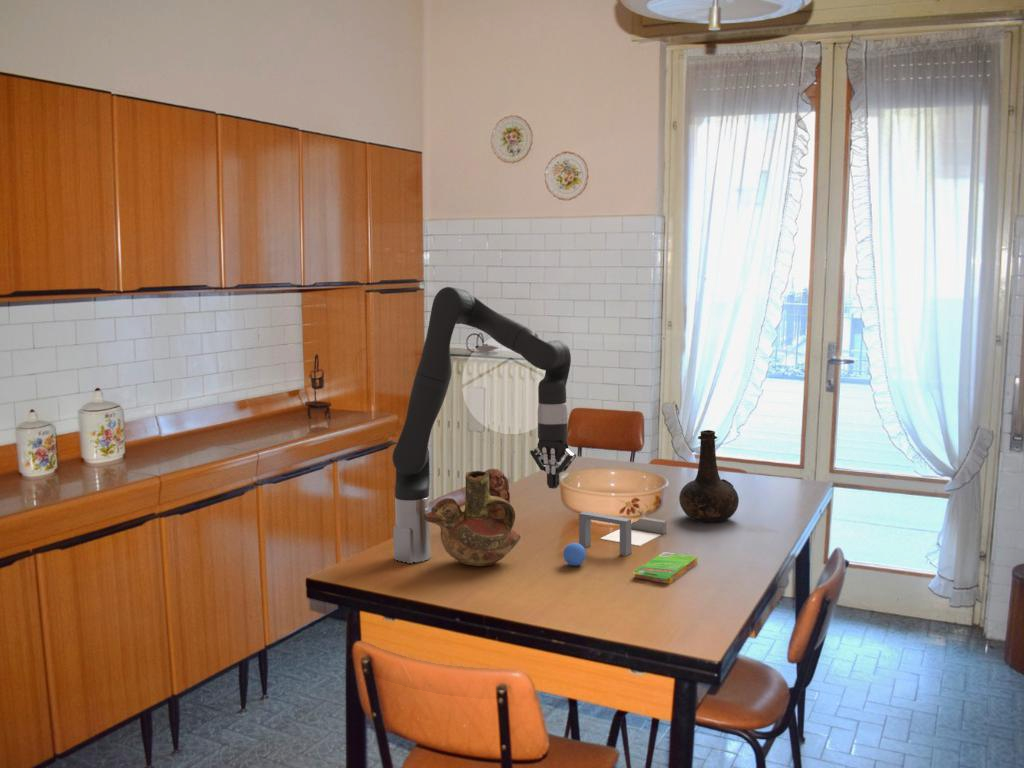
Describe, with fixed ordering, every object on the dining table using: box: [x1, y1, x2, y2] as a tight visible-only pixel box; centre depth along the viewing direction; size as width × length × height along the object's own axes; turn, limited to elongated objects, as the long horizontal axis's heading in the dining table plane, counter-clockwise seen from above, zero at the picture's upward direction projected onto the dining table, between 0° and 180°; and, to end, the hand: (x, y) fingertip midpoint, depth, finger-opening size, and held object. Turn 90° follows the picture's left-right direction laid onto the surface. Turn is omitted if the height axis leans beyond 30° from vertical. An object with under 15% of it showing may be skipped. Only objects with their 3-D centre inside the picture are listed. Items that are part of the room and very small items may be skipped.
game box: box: [632, 551, 698, 584], centre depth 240 cm, size 3×10×20 cm
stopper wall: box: [631, 516, 667, 535], centre depth 278 cm, size 2×13×4 cm, turn 54°
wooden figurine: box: [484, 468, 511, 518], centre depth 282 cm, size 12×6×18 cm, turn 143°
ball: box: [562, 542, 587, 567], centre depth 245 cm, size 6×6×6 cm
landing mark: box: [599, 528, 662, 547], centre depth 271 cm, size 13×13×1 cm
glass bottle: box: [678, 429, 739, 524], centre depth 287 cm, size 18×18×28 cm
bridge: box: [578, 510, 632, 557], centre depth 258 cm, size 3×15×10 cm, turn 54°
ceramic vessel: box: [424, 470, 521, 567], centre depth 246 cm, size 17×26×25 cm, turn 105°
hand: (553, 487), depth 235 cm, fingers closed
